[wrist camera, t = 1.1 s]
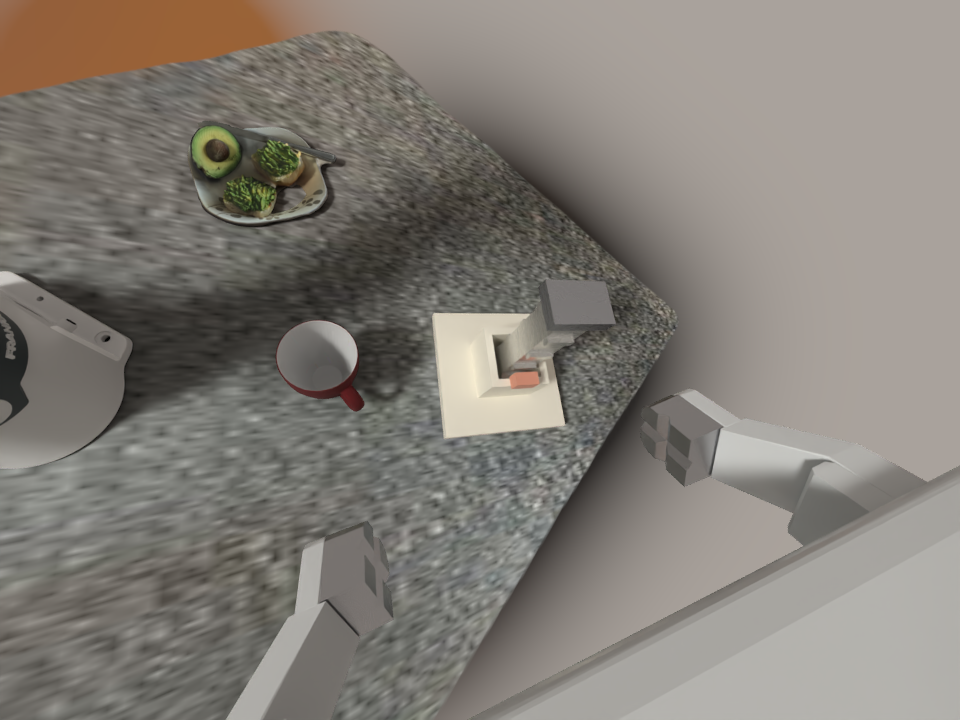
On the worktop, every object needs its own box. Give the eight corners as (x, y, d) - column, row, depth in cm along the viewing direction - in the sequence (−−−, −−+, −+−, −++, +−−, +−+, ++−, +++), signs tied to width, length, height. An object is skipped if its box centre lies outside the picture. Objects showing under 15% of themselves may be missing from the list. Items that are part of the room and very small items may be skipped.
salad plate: (322, 126, 59) (318, 99, 55) (355, 217, 56) (355, 195, 52) (182, 133, 52) (165, 102, 48) (211, 237, 48) (196, 214, 44)
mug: (387, 387, 49) (392, 366, 40) (344, 435, 45) (338, 423, 36) (326, 338, 48) (317, 305, 39) (278, 381, 45) (256, 357, 36)
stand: (443, 439, 49) (461, 429, 40) (432, 317, 54) (445, 284, 45) (560, 426, 54) (599, 415, 45) (539, 317, 59) (571, 288, 50)
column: (478, 388, 52) (554, 325, 31) (474, 358, 54) (545, 278, 32) (518, 386, 54) (616, 325, 33) (513, 357, 56) (604, 280, 34)
